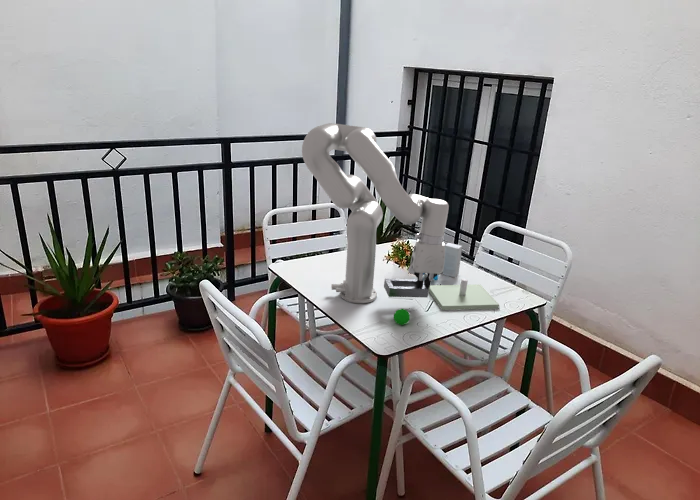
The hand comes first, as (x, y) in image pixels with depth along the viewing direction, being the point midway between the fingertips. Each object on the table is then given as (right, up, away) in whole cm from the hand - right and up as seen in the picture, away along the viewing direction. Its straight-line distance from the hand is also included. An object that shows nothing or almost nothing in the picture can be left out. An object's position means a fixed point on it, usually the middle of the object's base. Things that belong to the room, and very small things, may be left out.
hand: (422, 289), depth 163 cm
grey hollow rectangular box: (-6, -1, -1) cm, 6 cm away
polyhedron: (-8, -10, -10) cm, 16 cm away
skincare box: (+15, +3, +29) cm, 33 cm away
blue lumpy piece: (+6, +2, +25) cm, 26 cm away
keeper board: (+15, -4, +9) cm, 18 cm away
